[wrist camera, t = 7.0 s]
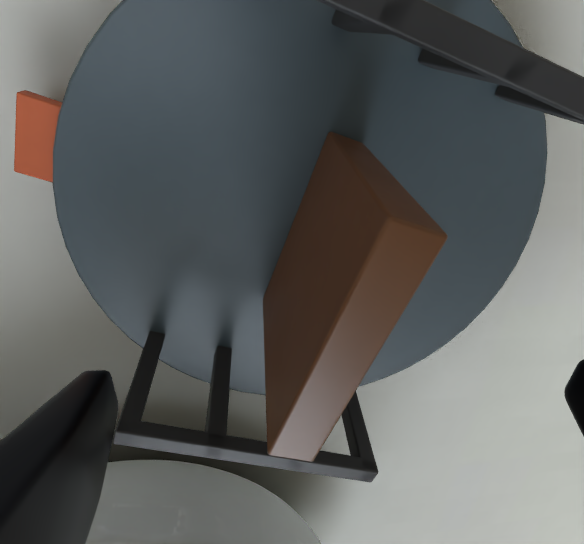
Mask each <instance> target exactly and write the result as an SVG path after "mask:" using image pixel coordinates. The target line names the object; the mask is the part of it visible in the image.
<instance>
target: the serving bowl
mask: <svg viewBox="0 0 584 544" xmlns="http://www.w3.org/2000/svg"><path fill="white" fill-rule="evenodd" d="M86 544H321V542H320V540H319V539H318V537H317V536H316V534H315V533H314V532H313V530H312V529H311V528H310V526H309V525H308V524H307V523H306V522H305V520H304V519H303V518H302V517H301V516H300V515H299V514H298V513H297V512H296V511H295V510H294V509H293V508H292V507H290V506H289V505H288V504H287V503H286V502H285V501H283V500H282V499H280V498H279V497H278V496H276V495H275V494H273V493H272V492H270V491H268V490H267V489H265V488H263V487H262V486H260V485H258V484H256V483H254V482H252V481H250V480H248V479H245V478H243V477H240V476H238V475H235V474H232V473H230V472H226V471H223V470H220V469H216V468H212V467H208V466H204V465H199V464H194V463H188V462H180V461H169V460H128V461H116V462H108V463H107V468H106V472H105V477H104V482H103V487H102V491H101V495H100V499H99V503H98V506H97V510H96V513H95V516H94V519H93V522H92V525H91V528H90V531H89V535H88V538H87V541H86Z"/></svg>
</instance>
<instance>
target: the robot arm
mask: <svg viewBox="0 0 584 544" xmlns="http://www.w3.org/2000/svg"><path fill="white" fill-rule="evenodd" d="M565 398H566V401H567V403H568V405H569V408H570V410H571V412H572V414H573V416H574V418H575V420H576V422H577V424H578V426H579V428H580V430H581V432H582V434H583V436H584V360H582V361H580V362H579V363H578V365H577V367H576V369H575V370H574V372H573V374H572V376H571V378H570V380H569V382H568V383H567V385H566V387H565ZM117 415H118V400H117V396H116V392H115V388H114V384H113V380H112V377H111V374H110V373H109V372H108V371H106V370H97V371H85V372H83V373H81V374H80V375H79V376H77V377H76V378H75V379H74V380H73V381H71V382H70V383H69V384H68V385H67V386H66V387H64V388H63V389H62V390H61V391H60V392H58V393H57V394H56V395H55V396H54V397H52V398H51V399H50V400H49V401H48V402H47V403H45V404H44V405H43V406H42V407H41V408H39V409H38V410H37V411H36V412H35V413H33V414H32V415H31V416H30V417H29V418H27V419H26V420H25V421H24V422H23V423H22V424H20V425H19V426H18V427H17V428H16V429H14V430H13V431H12V432H11V433H10V434H8V435H7V436H6V437H5V438H4V439H2V440H1V441H0V544H86V541H87V538H88V535H89V531H90V528H91V525H92V522H93V519H94V516H95V513H96V510H97V506H98V503H99V499H100V495H101V491H102V487H103V482H104V477H105V472H106V468H107V463H108V458H109V454H110V449H111V444H112V439H113V435H114V430H115V425H116V420H117Z"/></svg>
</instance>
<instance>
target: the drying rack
mask: <svg viewBox="0 0 584 544" xmlns="http://www.w3.org/2000/svg"><path fill="white" fill-rule="evenodd" d="M544 113H547V114H551V115H554V116H557V117H560V118H564V119H567V120H570V121H574V122H577V123H580V124H584V77H582V76H580V75H578V74H576V73H574V72H572V71H570V70H568V69H566V68H564V67H561V66H559V65H557V64H555V63H553V62H551V61H549V60H547V59H545V58H543V57H541V56H539V55H537V54H535V53H532V52H530V51H528V50H526V49H524V48H523V47H522V45H521V43H520V42H519V40H518V38H517V36H516V34H515V32H514V31H513V29H512V27H511V25H510V24H509V22H508V21H507V20H506V19H505V17H504V16H503V15H502V14H501V12H500V11H499V10H498V8H497V7H496V6H495V5H494V3H493V2H492V1H491V0H123V1H122V2H121V3H120V4H119V5H118V6H117V7H116V8H115V9H114V10H113V11H112V12H111V13H110V14H109V16H108V17H107V18H106V20H105V21H104V22H103V24H102V25H101V27H100V28H99V29H98V31H97V32H96V34H95V35H94V36H93V38H92V39H91V41H90V42H89V43H88V45H87V46H86V48H85V50H84V52H83V54H82V56H81V58H80V60H79V62H78V64H77V66H76V68H75V70H74V72H73V74H72V76H71V78H70V80H69V83H68V87H67V90H66V93H65V96H64V99H63V102H59V101H56V100H53V99H50V98H47V97H44V96H41V95H38V94H35V93H32V92H29V91H26V90H24V91H20V92H17V100H16V130H15V161H14V171H15V172H18V173H22V174H25V175H29V176H32V177H36V178H39V179H43V180H46V181H50V182H53V190H54V197H55V204H56V211H57V218H58V221H59V224H60V228H61V231H62V235H63V238H64V242H65V245H66V248H67V250H68V252H69V255H70V257H71V259H72V261H73V263H74V266H75V268H76V270H77V272H78V274H79V276H80V278H81V279H82V281H83V282H84V284H85V286H86V287H87V289H88V291H89V292H90V294H91V296H92V297H93V299H94V300H95V301H96V302H97V304H98V305H99V306H100V307H101V309H102V310H103V311H104V312H105V313H106V315H107V316H108V317H109V318H110V320H111V321H112V322H113V323H114V324H115V325H117V326H118V327H119V328H120V329H121V330H122V331H123V332H124V333H125V334H126V335H127V336H128V337H129V338H130V339H131V340H133V341H134V342H135V343H136V344H138V345H139V346H140V347H142V348H143V351H142V354H141V357H140V360H139V363H138V366H137V369H136V371H135V374H134V377H133V380H132V383H131V386H130V389H129V392H128V395H127V398H126V401H125V404H124V406H123V409H122V412H121V415H120V418H119V421H118V424H117V427H116V430H115V434H114V438H113V444H118V445H124V446H131V447H138V448H144V449H151V450H158V451H165V452H171V453H178V454H185V455H191V456H198V457H204V458H211V459H218V460H225V461H231V462H238V463H245V464H251V465H258V466H265V467H271V468H278V469H285V470H292V471H298V472H305V473H312V474H318V475H325V476H332V477H338V478H345V479H352V480H358V481H365V482H372V481H373V479H374V478H375V477H376V475H377V474H378V469H377V465H376V462H375V459H374V455H373V451H372V448H371V444H370V441H369V437H368V433H367V430H366V426H365V423H364V419H363V415H362V412H361V408H360V405H359V401H358V397H357V394H356V390H357V388H358V387H359V386H362V385H365V384H368V383H371V382H374V381H377V380H380V379H383V378H385V377H388V376H390V375H392V374H395V373H397V372H399V371H401V370H404V369H406V368H408V367H409V366H411V365H413V364H415V363H417V362H418V361H420V360H422V359H424V358H426V357H427V356H429V355H430V354H432V353H433V352H435V351H436V350H438V349H439V348H441V347H442V346H444V345H445V344H446V343H448V342H449V341H450V340H451V339H453V338H454V337H455V336H456V335H457V334H459V333H460V332H461V331H462V330H463V329H465V328H466V327H467V326H468V325H469V324H470V323H471V322H472V321H473V320H474V319H475V318H476V317H477V316H478V315H479V314H480V313H481V312H482V311H483V310H484V309H485V308H486V306H487V305H488V304H489V303H490V301H491V300H492V299H493V298H494V296H495V295H496V294H497V293H498V291H499V290H500V289H501V288H502V286H503V284H504V283H505V281H506V280H507V278H508V277H509V275H510V274H511V272H512V270H513V269H514V267H515V266H516V264H517V262H518V260H519V258H520V256H521V254H522V252H523V250H524V248H525V246H526V244H527V242H528V240H529V237H530V234H531V231H532V228H533V226H534V223H535V220H536V217H537V214H538V211H539V206H540V202H541V197H542V193H543V188H544V184H545V173H546V161H547V138H546V120H545V115H544ZM158 360H161V361H162V362H164V363H166V364H167V365H169V366H171V367H172V368H175V369H177V370H179V371H181V372H183V373H185V374H187V375H189V376H191V377H194V378H196V379H199V380H202V381H205V382H208V383H210V393H209V401H208V409H207V417H206V425H205V432H203V431H197V430H191V429H185V428H179V427H173V426H167V425H161V424H155V423H149V422H143V421H141V419H142V416H143V412H144V409H145V405H146V402H147V398H148V395H149V391H150V388H151V384H152V381H153V377H154V374H155V370H156V367H157V363H158ZM229 389H232V390H236V391H240V392H247V393H254V394H261V395H266V423H267V442H264V441H258V440H252V439H246V438H240V437H234V436H228V435H226V432H227V418H228V403H229ZM341 414H342V419H343V423H344V428H345V432H346V436H347V441H348V445H349V450H350V454H351V456H349V455H343V454H337V453H331V452H325V451H320V449H321V448H322V446H323V444H324V443H325V441H326V439H327V438H328V436H329V434H330V433H331V431H332V429H333V428H334V426H335V424H336V423H337V421H338V419H339V418H340V416H341Z"/></svg>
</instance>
